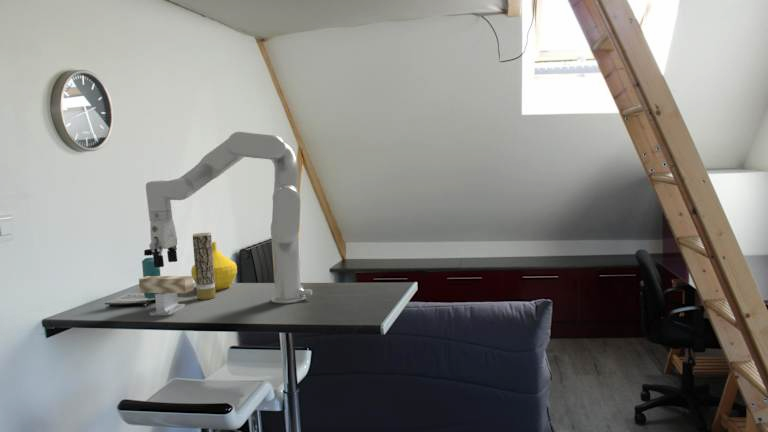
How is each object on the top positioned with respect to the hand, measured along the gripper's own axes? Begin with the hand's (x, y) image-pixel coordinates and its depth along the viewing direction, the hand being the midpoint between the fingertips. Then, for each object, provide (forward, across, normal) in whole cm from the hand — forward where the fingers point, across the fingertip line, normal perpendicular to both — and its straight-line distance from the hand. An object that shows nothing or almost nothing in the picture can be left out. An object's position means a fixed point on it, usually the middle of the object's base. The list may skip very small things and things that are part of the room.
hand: (166, 264), depth 206 cm
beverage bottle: (+17, +16, +15) cm, 27 cm away
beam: (+10, 0, +1) cm, 10 cm away
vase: (+17, +37, -1) cm, 41 cm away
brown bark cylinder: (+17, +19, -5) cm, 26 cm away
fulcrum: (+17, 0, +1) cm, 17 cm away
